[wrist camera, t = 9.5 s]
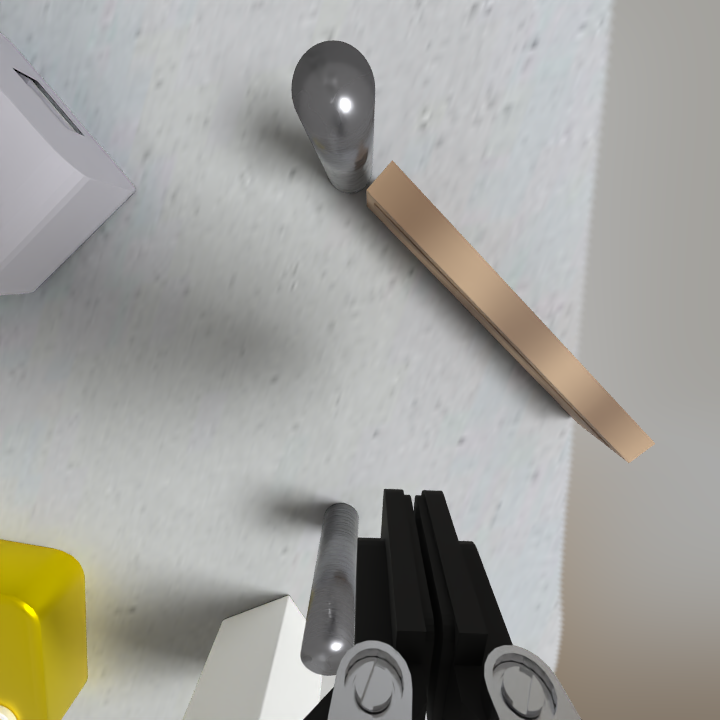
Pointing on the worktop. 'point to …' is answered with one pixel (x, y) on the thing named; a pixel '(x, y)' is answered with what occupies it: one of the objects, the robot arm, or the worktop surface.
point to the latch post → (332, 593)
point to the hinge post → (337, 111)
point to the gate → (501, 311)
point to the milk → (257, 668)
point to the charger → (46, 179)
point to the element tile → (40, 632)
